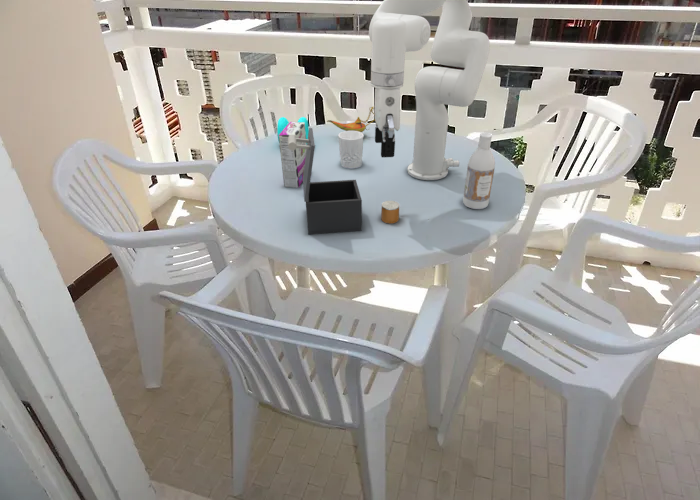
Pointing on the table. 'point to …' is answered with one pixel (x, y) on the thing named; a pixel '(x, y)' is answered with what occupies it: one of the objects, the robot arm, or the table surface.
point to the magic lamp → (353, 124)
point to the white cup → (351, 149)
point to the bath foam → (479, 175)
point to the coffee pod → (390, 212)
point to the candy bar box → (292, 155)
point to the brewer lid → (308, 160)
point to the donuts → (284, 122)
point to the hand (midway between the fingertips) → (384, 149)
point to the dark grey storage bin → (334, 207)
